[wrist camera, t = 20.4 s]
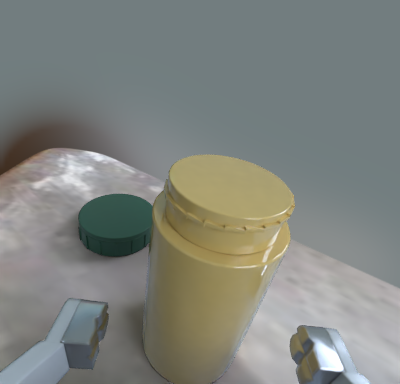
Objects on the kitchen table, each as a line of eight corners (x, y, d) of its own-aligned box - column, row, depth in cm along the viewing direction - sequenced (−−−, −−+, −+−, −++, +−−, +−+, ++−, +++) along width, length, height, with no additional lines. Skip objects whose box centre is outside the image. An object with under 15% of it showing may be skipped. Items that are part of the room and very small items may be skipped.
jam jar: (130, 382, 12) (137, 213, 7) (152, 284, 17) (166, 141, 12) (243, 392, 12) (336, 241, 7) (232, 294, 17) (282, 161, 12)
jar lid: (166, 224, 23) (168, 207, 22) (127, 268, 18) (127, 250, 17) (112, 202, 24) (112, 186, 23) (62, 238, 19) (59, 219, 18)
